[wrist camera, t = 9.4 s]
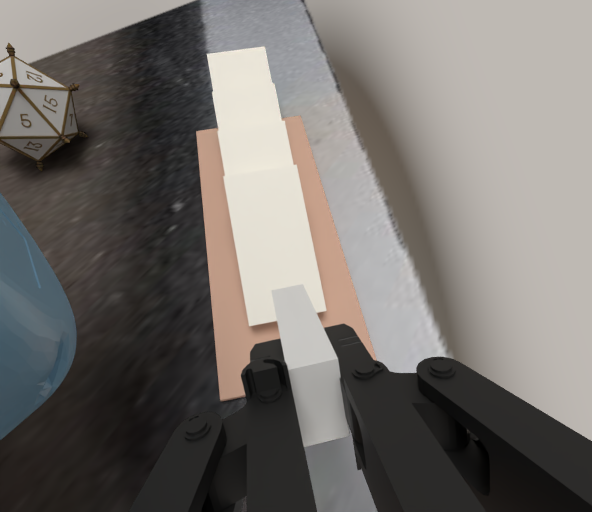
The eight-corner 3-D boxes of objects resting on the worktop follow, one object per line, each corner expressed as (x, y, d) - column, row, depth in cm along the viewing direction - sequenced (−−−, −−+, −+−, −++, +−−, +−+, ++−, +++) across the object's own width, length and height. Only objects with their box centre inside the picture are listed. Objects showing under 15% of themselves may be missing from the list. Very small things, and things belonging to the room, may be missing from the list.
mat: (376, 368, 22) (378, 366, 22) (222, 401, 22) (220, 400, 21) (300, 120, 34) (300, 115, 33) (198, 136, 33) (196, 131, 33)
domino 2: (298, 201, 26) (274, 83, 28) (233, 212, 26) (212, 91, 27) (297, 207, 28) (274, 95, 29) (235, 218, 28) (215, 103, 29)
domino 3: (311, 251, 24) (284, 120, 26) (240, 264, 24) (217, 130, 25) (309, 254, 26) (284, 131, 27) (242, 267, 25) (220, 141, 27)
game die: (60, 186, 35) (-83, 145, 27) (73, 108, 36) (-60, 47, 28) (106, 171, 30) (-52, 116, 22) (119, 82, 31) (-26, -2, 23)
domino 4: (326, 310, 22) (296, 164, 24) (249, 326, 22) (223, 176, 23) (323, 310, 24) (295, 173, 25) (250, 325, 23) (226, 184, 25)
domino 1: (286, 154, 29) (264, 46, 30) (225, 163, 28) (206, 54, 30) (285, 162, 30) (265, 59, 32) (228, 171, 30) (210, 66, 31)
